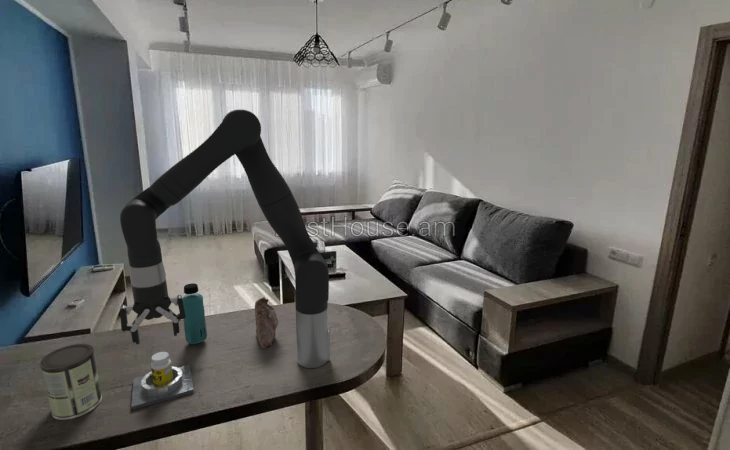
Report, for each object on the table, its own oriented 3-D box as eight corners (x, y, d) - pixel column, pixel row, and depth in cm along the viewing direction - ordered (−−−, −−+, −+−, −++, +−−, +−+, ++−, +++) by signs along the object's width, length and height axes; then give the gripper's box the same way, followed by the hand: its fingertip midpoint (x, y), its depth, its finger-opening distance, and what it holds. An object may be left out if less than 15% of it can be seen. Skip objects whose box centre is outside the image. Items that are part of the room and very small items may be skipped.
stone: (249, 295, 124) (252, 311, 116) (273, 291, 127) (277, 305, 118) (256, 333, 129) (259, 351, 121) (278, 328, 132) (282, 345, 123)
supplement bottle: (149, 386, 101) (145, 358, 99) (164, 376, 105) (160, 349, 103) (163, 391, 99) (159, 362, 97) (177, 380, 103) (174, 352, 101)
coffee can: (70, 391, 100) (61, 343, 96) (111, 391, 100) (102, 343, 97) (39, 420, 90) (27, 368, 86) (84, 420, 90) (74, 368, 87)
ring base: (190, 367, 111) (189, 358, 110) (193, 392, 100) (192, 382, 100) (133, 381, 104) (132, 372, 103) (131, 410, 94) (130, 399, 93)
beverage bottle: (202, 348, 120) (196, 289, 115) (181, 348, 120) (174, 289, 115) (211, 337, 126) (206, 281, 121) (191, 336, 126) (185, 280, 121)
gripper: (113, 291, 88) (124, 353, 92) (181, 280, 94) (188, 338, 99) (115, 279, 94) (125, 338, 98) (179, 270, 101) (186, 325, 105)
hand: (157, 338), depth 98 cm, fingers open, 8 cm apart
